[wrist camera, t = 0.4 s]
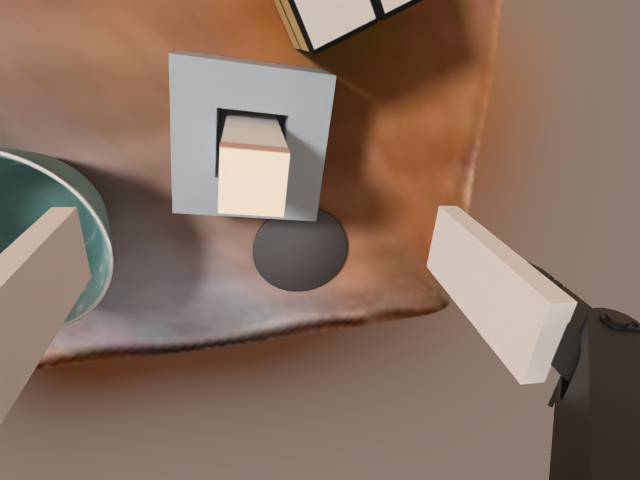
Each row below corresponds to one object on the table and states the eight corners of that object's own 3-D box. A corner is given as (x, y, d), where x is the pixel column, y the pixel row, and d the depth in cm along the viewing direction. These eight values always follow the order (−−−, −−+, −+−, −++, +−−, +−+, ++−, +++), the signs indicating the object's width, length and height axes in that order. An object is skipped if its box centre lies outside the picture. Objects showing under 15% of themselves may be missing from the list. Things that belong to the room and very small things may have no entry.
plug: (226, 153, 37) (217, 213, 25) (227, 107, 35) (219, 147, 23) (271, 157, 38) (284, 217, 25) (274, 112, 36) (290, 153, 24)
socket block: (182, 188, 39) (172, 213, 33) (180, 50, 34) (168, 53, 28) (306, 197, 41) (316, 221, 36) (323, 69, 36) (336, 75, 31)
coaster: (250, 288, 45) (250, 290, 44) (256, 203, 41) (256, 204, 40) (338, 290, 47) (339, 292, 46) (352, 209, 43) (353, 211, 42)
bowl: (125, 295, 43) (100, 348, 36) (-54, 264, 38) (-125, 317, 31) (150, 153, 37) (127, 182, 30) (-58, 96, 32) (-146, 114, 25)
